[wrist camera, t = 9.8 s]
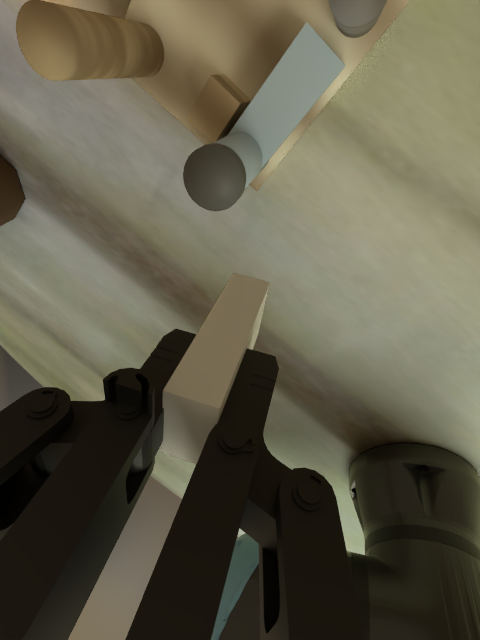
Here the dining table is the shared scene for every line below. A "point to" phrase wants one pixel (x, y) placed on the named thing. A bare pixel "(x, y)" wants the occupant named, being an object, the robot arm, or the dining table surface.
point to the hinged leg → (262, 123)
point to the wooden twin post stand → (200, 51)
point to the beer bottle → (9, 192)
